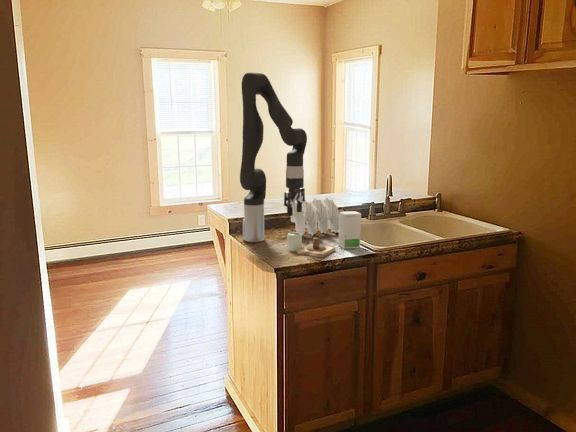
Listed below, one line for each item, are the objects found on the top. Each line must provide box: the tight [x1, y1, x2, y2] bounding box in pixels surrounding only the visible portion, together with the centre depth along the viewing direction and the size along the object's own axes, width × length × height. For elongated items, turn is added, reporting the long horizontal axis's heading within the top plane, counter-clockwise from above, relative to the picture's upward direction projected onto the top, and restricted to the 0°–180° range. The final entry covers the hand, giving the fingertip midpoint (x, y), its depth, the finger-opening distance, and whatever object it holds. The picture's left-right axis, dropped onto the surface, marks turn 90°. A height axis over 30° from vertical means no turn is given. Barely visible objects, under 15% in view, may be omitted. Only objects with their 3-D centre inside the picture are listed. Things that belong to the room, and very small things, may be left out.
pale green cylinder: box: [286, 231, 303, 253], centre depth 219 cm, size 6×6×8 cm
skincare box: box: [337, 210, 362, 250], centre depth 223 cm, size 8×7×16 cm
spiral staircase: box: [285, 197, 340, 237], centre depth 245 cm, size 18×18×25 cm
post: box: [296, 237, 336, 259], centre depth 216 cm, size 12×12×6 cm
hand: (294, 213), depth 217 cm, fingers open, 8 cm apart
